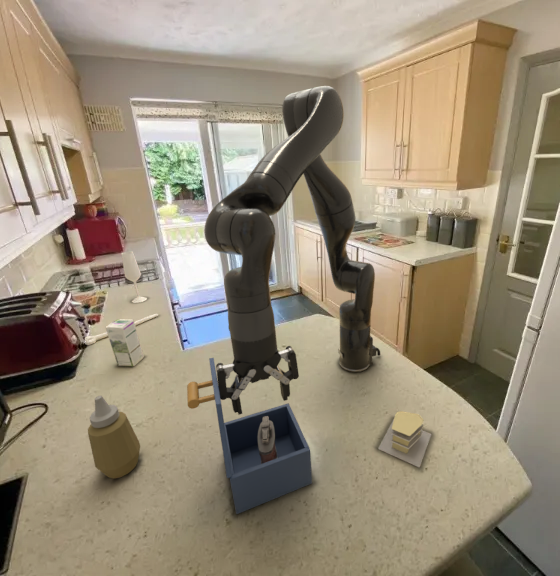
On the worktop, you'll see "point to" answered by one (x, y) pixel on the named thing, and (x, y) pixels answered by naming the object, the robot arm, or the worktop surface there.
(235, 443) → the box
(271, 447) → the lighter
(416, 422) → the stacked layers on plate
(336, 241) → the robot arm
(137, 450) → the squeeze bottle
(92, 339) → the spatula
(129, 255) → the champagne flute
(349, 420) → the worktop surface
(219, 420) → the blue box lid
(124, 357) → the syrup box
